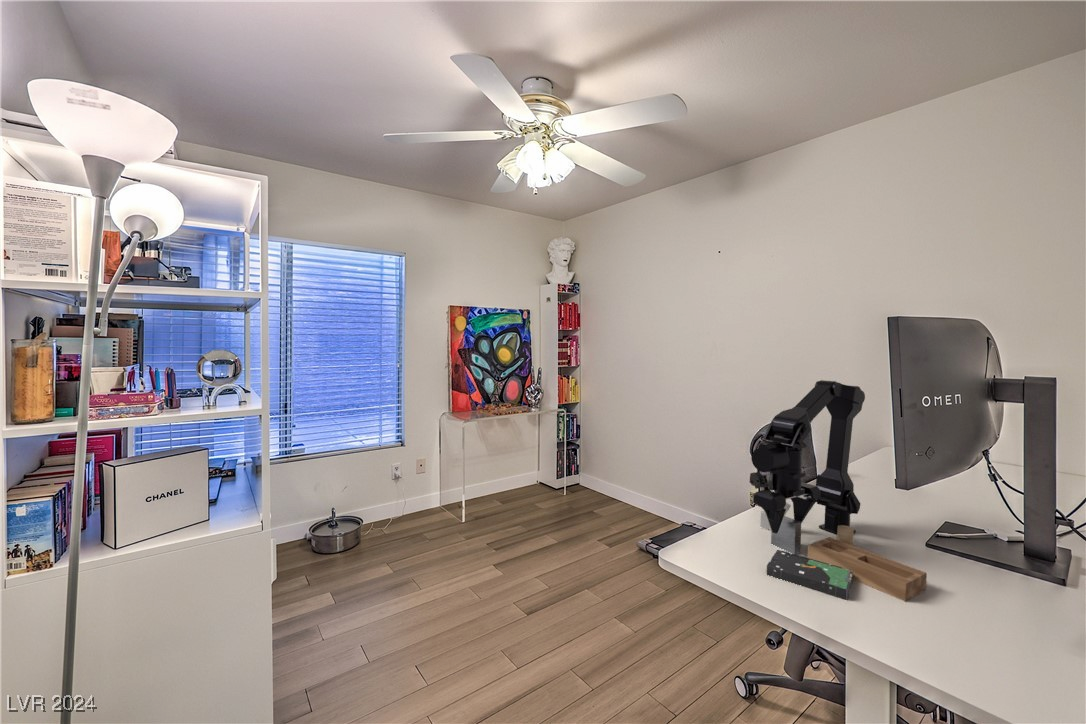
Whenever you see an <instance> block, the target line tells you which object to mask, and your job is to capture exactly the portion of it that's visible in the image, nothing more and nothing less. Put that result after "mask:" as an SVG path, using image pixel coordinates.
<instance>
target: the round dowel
mask: <svg viewBox="0 0 1086 724" xmlns="http://www.w3.org/2000/svg"><path fill="white" fill-rule="evenodd" d="M853 532H854V528H853V527H851V526H850V527H849V526H844V525H838V530H837V534H836V536H837V537H836V540H839V541H841V542H844V543H847V544H849V545H852V546H854V533H855V532H854V533H853Z"/></svg>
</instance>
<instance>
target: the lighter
mask: <svg viewBox="0 0 1086 724" xmlns="http://www.w3.org/2000/svg"><path fill="white" fill-rule="evenodd" d="M791 507H792V505H791V504H790V503H789V502H787V501H786V505H785V507H784V509H786V511H785V514H784V516H786V514H787V512H788V511H789V510H790V508H791ZM759 523H760V524H759V525H760V526H759V527H762V528H765V529H764V530H767V529H770V530H769V531H771V527H770V524H769V521H768V518H767V515H766V513H765V511H764V510H760V522H759ZM762 528H761V529H762Z"/></svg>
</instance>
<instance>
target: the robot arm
mask: <svg viewBox="0 0 1086 724" xmlns="http://www.w3.org/2000/svg"><path fill="white" fill-rule="evenodd" d="M865 398H866V395H865V392H864V390H862V389H861V387H860V386H858V385H848V384H847V385H846V384H842V383H840V382H838V381H835V380H834V381H833V380H822V379H821V380H817V381H816V382H815V384H814V387H812V388H811V390H810V391H809V392H808V393H807V394H806V395H805V396H804V397H803V398H802V399H800V401H799V402H798V403H796V405H794V407H791V408H788V409H784V410H782V411H780V412H779V413H777V414H776V415H775V416H774V417H773V418H772V420H771V422H770V424H769V426H768V428H767V430H766V432H765V434H764V436H763V438H762V442H759V447H757V448H756V449H754V450H753V452H752V454H751V456H750V457H751V462H752V465H753V467H754V468H755V469H756V470H757V472H755V471H754V472H750V474H749V475H750V476H749V480H748V481H749V483H750V485H751V486H753V487H754V488H755V489H760V488H767V489H763V490H758V491H756V492H754V493H752V503H753V504H756V506H758V507H759V508H761V510H762V511H765V513H766V515H767V518H768V521H769V524H770V527H771V530H772V532H773V533H775V534H777V533H778V530H779V528H780V525H781V522H782V520H783V517H784V514H785V511H786V509H784V507H785V505H786V502H787V500H791V502H792V507H793V519H794V520H797V521H800V522H801V525H802V523H804V520H805V519H806V518H807V515H808V514H809V512H810V511H811V509H812V508H813V507H814V506H815V504H816V505H821V506H823V507H825V508H824V522H823V524H819V525H818V528H819V529H821V530H824V531H827V532H830V533H833V534H835V535H837V530H838V525H844V526H849V527H851V515H852V514H855V515H857V514H859V512H860V510H861V502H860V500H859V499H858V497H857V495H856V494H855V491H854V488H855V487H854V485H855V484H854V482H853V480H852V478H851V476H850V474H849V473H848V471H849V470H848V469H849V461H850V460H849V459H850V451H851V444H852V443H851V442H852V431H853V421H854V418H855V417H857V416H858V414H860V412H861V411H862V409H863V404H864V402H865V400H866V399H865ZM825 408H826V409H827V411H828V413H829V414H830V418H831V419H830V424H829V425H830V426H829V436H828V447H827V452H826V453H827V454H826V465H825V470H824V471H822V472H821V474H817V475H816V477H815V478H816V479H815V481H816V482H815V485H814V484H811V483H807V482H804V481H802V478H805V477H806V472H805V471H802V467H803V466H802V465H803V449H805V448H807V444H806V443H805V442H804V441H805V439H806V438H807V436H809V434H810V433H811V431H812V425H811V423H812V421H813V420H814V419H815V418H816V417H817V416H818V415H819V414H820V413H821V411H823V410H824V409H825ZM774 491H775V492H774ZM785 515H786V514H785ZM853 529H854V528H853ZM771 530H770V531H771ZM854 533H856V529H854V532H853V534H854Z"/></svg>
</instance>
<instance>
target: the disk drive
mask: <svg viewBox="0 0 1086 724" xmlns="http://www.w3.org/2000/svg"><path fill="white" fill-rule="evenodd" d="M766 574H767V575H766V576H768V575H769V576H768V577H771V576H773V577H772V578H774V577H775V578H774V579H777V578H778V579H777V580H780V579H782V581H784V580H785V581H784V582H787V581H788V582H787V583H790V582H791V584H793V583H794V585H796V584H797V586H800V585H801V587H803V588H807V589H810V590H813V591H816V592H818V593H819V592H820V593H823V594H826V595H828V596H832V597H835V598H838V599H841V600H843V601H848V599H849V595H850V592H851V588H852V584H853V581H854V579H853V572H852V571H850V570H848V569H844V568H842V567H839V566H835V565H830V564H828V563H824V562H820V561H817V560H813V559H809V558H808V557H806V556H801V555H799V554H792V553H789V552H787V551H785V550H780V549H776V552H775V553H774V554H773V556H772V557H771V559H770V561H768V563H767V564H766Z"/></svg>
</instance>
